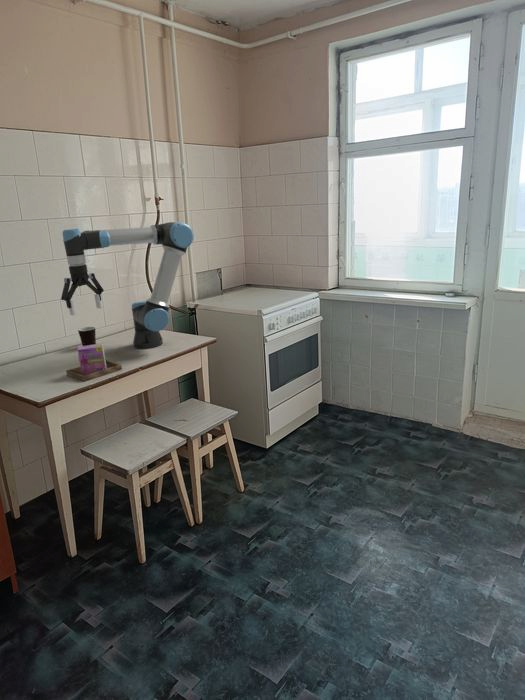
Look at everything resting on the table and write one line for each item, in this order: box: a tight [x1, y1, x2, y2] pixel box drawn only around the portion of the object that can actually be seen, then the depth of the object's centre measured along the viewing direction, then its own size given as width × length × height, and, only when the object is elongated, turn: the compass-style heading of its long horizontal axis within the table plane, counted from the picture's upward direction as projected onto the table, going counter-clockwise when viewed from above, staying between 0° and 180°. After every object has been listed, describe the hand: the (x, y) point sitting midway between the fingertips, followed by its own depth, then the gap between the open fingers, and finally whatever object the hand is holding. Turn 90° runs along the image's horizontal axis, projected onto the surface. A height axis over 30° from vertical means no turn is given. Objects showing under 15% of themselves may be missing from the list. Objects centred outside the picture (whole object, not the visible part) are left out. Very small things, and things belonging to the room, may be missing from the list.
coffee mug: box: [77, 326, 97, 346], centre depth 261 cm, size 12×9×10 cm
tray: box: [66, 359, 123, 382], centre depth 220 cm, size 19×15×2 cm
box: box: [77, 343, 107, 375], centre depth 219 cm, size 10×6×12 cm, turn 105°
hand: (86, 311), depth 226 cm, fingers open, 13 cm apart
